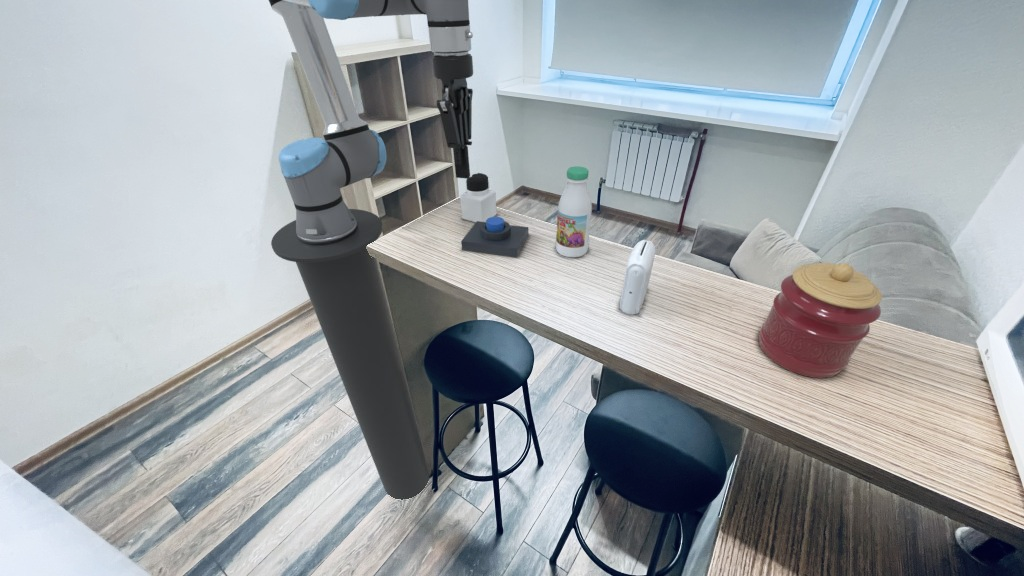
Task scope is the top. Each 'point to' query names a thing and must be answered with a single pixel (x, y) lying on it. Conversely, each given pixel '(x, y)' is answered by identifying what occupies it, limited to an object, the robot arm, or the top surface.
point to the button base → (495, 239)
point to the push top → (495, 224)
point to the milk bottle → (574, 215)
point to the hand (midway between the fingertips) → (463, 176)
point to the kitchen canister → (820, 318)
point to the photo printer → (637, 277)
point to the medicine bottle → (478, 199)
